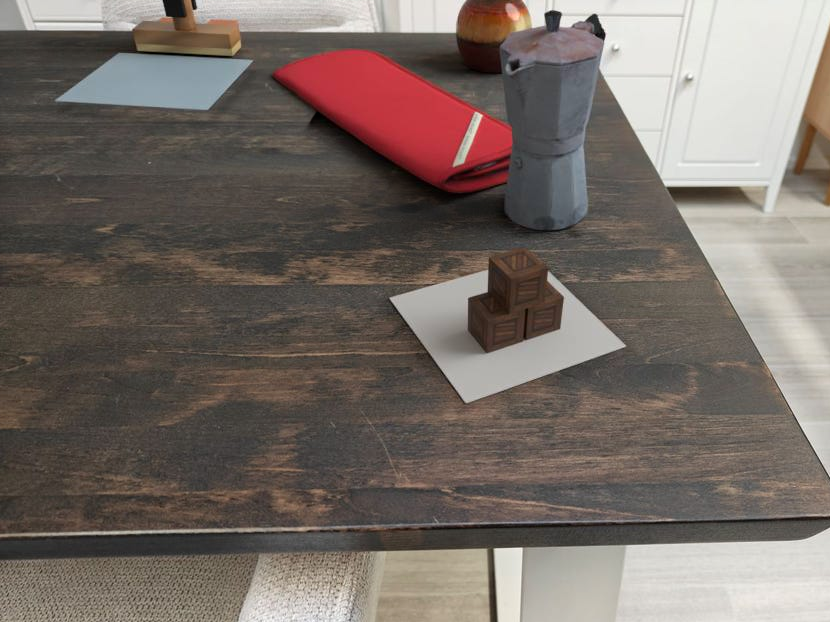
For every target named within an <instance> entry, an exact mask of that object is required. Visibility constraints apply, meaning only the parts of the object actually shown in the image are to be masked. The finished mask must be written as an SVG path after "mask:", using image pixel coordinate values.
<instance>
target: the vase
mask: <svg viewBox="0 0 830 622" xmlns="http://www.w3.org/2000/svg"><path fill="white" fill-rule="evenodd" d="M532 22H533V21H532V18H531V14H530V11H529V9H528V7H527V5H526V4H525V2H524V1H523V0H465V1H464V2H463V4H462V6H461V7H460V9H459V11H458V15H457V18H456V22H455V40H456V45H457V49H458V52H459V55H460V57H461V59H462V60H463V62H464V63H465V64H466V65H467V66H468V67H469V68H471V69H472V70H474V71H478V72H482V73H490V74H491V73H492V74H495V73H496V74H499V73H501V74H502V67H501V58H500V46H501V45H502V44H503V42H504V41H505V40H506V39H507V37H508V36H509V35H510V33H512V32H517V31H522V30H526V29H531V28H533V23H532Z"/></svg>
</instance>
